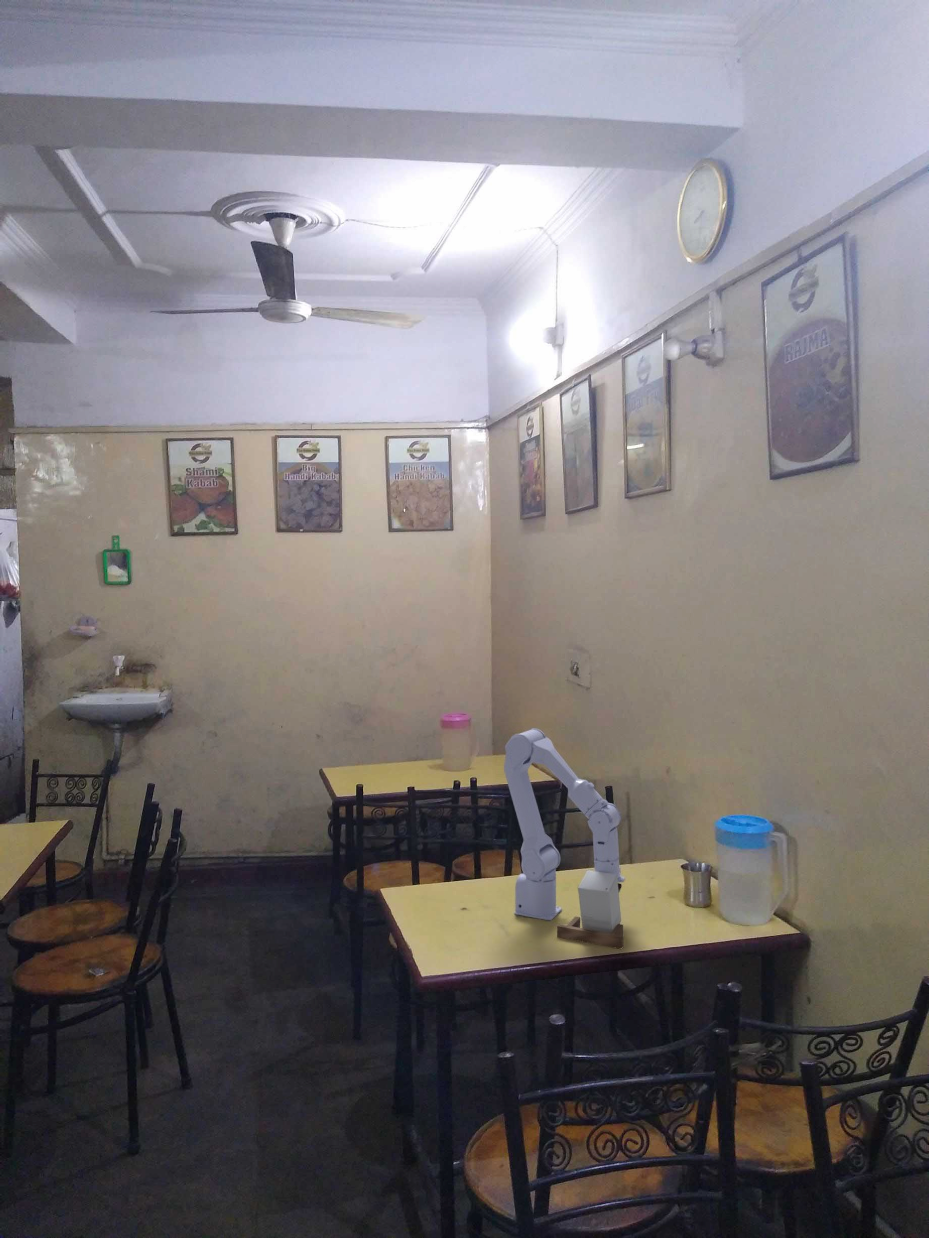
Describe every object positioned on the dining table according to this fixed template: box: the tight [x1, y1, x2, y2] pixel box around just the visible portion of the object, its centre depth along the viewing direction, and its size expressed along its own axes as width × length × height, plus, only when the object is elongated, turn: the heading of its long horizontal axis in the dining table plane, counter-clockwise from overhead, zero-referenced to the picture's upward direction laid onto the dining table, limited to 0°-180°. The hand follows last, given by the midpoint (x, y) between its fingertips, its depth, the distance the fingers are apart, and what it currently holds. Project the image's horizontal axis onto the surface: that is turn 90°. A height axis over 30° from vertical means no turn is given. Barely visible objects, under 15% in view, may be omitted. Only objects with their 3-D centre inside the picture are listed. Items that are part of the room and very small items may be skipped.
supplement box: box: [577, 870, 622, 933], centre depth 203 cm, size 7×7×13 cm
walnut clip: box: [556, 916, 624, 949], centre depth 202 cm, size 15×7×2 cm, turn 63°
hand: (609, 915), depth 207 cm, fingers closed, pressing on supplement box
